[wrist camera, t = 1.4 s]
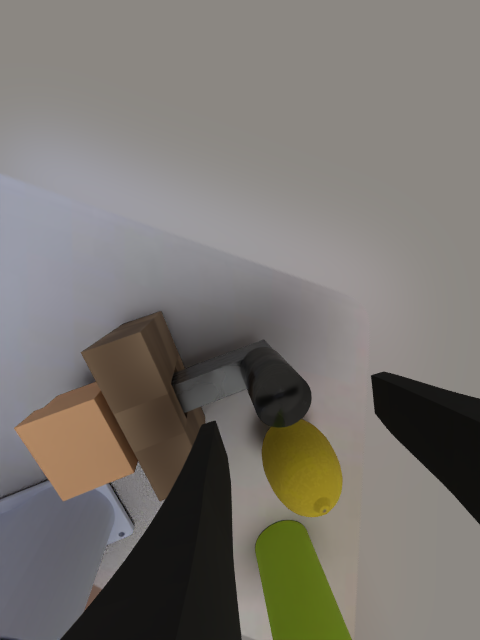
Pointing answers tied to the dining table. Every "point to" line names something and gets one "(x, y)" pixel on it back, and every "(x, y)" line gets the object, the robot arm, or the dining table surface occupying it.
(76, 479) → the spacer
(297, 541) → the soap dispenser
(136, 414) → the bracket
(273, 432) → the lemon
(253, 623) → the dining table surface
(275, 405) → the shaft
